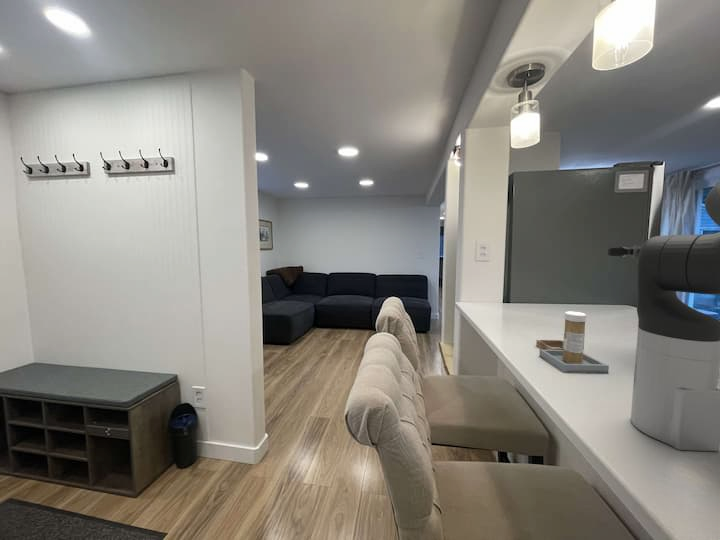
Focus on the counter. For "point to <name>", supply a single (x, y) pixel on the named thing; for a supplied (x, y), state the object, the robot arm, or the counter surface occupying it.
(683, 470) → the counter surface
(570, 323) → the sprinkles bottle
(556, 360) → the slate tray
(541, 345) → the wooden picture frame
